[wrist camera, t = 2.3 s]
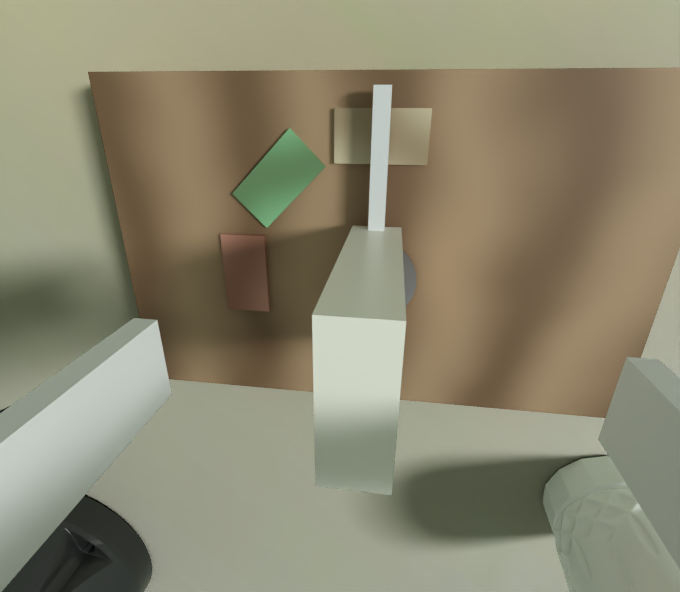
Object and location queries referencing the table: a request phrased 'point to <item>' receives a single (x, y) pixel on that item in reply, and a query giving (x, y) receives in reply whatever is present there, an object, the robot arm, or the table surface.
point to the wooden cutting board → (403, 220)
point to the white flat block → (361, 341)
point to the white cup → (605, 532)
